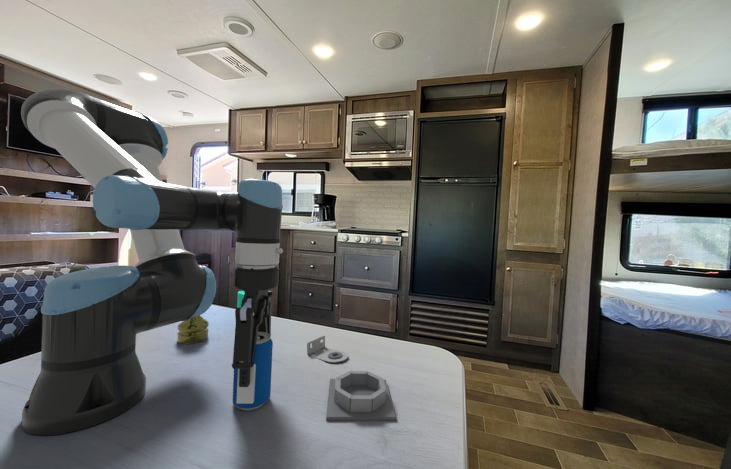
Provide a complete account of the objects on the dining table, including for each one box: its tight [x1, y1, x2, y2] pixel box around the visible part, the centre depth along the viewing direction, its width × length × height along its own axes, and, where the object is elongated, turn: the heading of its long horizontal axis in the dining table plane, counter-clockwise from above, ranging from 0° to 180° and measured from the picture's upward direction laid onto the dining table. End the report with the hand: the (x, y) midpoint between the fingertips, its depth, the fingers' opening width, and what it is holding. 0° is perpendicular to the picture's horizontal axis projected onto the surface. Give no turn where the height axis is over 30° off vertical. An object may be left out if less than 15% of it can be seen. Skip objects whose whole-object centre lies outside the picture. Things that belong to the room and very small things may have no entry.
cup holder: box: [325, 370, 397, 421], centre depth 54 cm, size 12×12×3 cm
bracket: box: [306, 335, 349, 364], centre depth 72 cm, size 7×10×4 cm, turn 57°
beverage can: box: [232, 332, 274, 411], centre depth 51 cm, size 6×6×12 cm
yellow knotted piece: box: [177, 315, 210, 345], centre depth 78 cm, size 7×7×10 cm
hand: (252, 389), depth 52 cm, fingers closed on beverage can, 6 cm apart
